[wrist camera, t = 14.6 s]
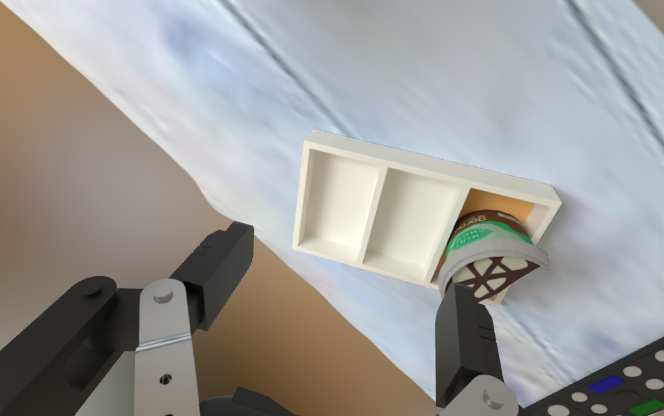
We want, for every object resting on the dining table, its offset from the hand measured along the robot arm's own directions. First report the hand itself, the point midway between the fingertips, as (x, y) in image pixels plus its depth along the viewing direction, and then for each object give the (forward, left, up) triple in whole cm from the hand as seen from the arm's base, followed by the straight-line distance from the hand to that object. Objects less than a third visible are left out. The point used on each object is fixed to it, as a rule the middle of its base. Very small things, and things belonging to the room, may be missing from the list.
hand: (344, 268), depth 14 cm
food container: (+13, -14, -29) cm, 35 cm away
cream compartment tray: (+5, -15, -30) cm, 34 cm away
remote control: (+44, -38, -31) cm, 66 cm away
